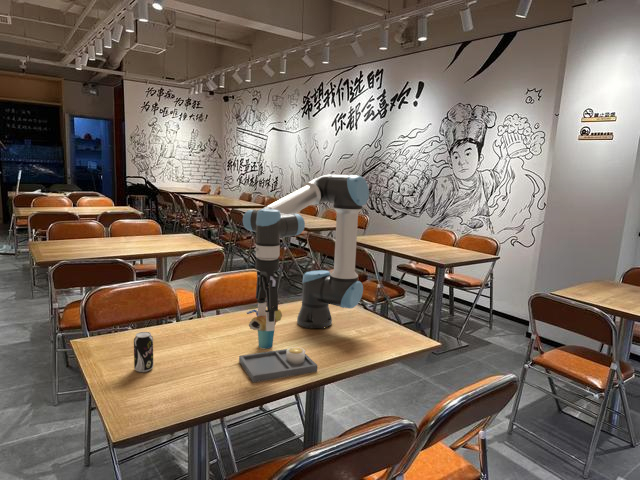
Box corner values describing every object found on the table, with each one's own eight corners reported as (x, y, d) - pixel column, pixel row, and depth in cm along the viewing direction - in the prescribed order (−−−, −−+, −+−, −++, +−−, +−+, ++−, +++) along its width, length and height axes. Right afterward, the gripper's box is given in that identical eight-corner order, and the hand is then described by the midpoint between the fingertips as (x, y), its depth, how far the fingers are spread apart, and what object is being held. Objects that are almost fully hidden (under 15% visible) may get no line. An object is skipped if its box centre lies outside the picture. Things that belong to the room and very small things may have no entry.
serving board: (239, 361, 151) (239, 348, 151) (298, 352, 161) (298, 340, 160) (253, 382, 137) (253, 367, 136) (317, 371, 147) (317, 357, 146)
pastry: (265, 321, 151) (266, 310, 150) (281, 325, 147) (281, 314, 146) (246, 328, 143) (247, 317, 142) (262, 333, 139) (263, 321, 139)
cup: (250, 353, 158) (251, 313, 156) (241, 346, 165) (242, 307, 162) (284, 346, 166) (286, 308, 164) (274, 339, 172) (275, 302, 170)
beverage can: (141, 375, 139) (141, 338, 137) (130, 370, 142) (129, 334, 140) (157, 368, 144) (156, 333, 142) (145, 364, 147) (145, 329, 145)
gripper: (246, 252, 149) (245, 317, 152) (266, 265, 130) (265, 338, 134) (268, 251, 152) (266, 315, 156) (290, 263, 134) (288, 335, 137)
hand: (265, 325), depth 145 cm, fingers closed on pastry, 8 cm apart
